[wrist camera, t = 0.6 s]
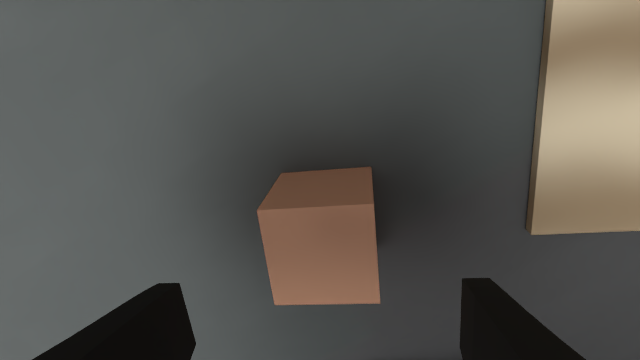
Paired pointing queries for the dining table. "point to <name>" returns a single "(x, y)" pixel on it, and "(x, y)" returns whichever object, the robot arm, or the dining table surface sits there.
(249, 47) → the dining table surface
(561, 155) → the beige flat square sheet
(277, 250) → the terracotta cube
